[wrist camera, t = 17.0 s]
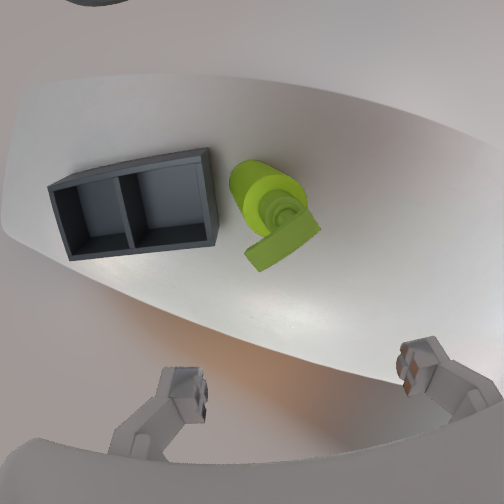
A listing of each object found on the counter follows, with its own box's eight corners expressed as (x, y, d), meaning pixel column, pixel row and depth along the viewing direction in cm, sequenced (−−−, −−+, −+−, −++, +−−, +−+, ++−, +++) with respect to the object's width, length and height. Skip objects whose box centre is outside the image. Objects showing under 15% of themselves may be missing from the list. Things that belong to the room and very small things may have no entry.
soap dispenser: (213, 183, 39) (226, 234, 20) (257, 150, 38) (312, 172, 20) (240, 218, 41) (275, 294, 23) (282, 187, 40) (352, 238, 22)
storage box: (71, 174, 38) (47, 186, 32) (208, 147, 37) (201, 155, 31) (88, 241, 42) (69, 261, 37) (219, 225, 42) (215, 246, 36)
